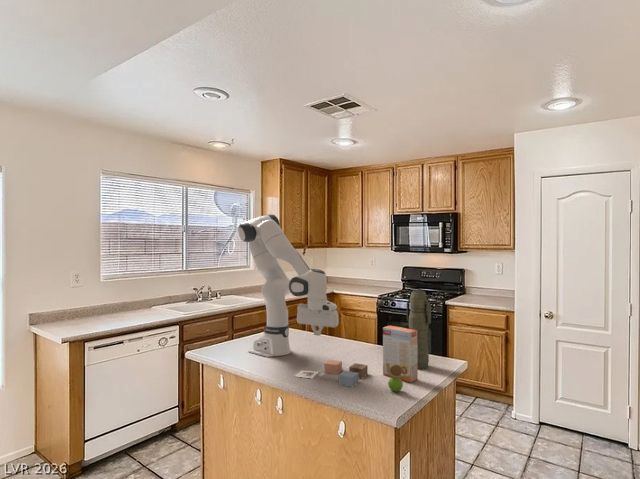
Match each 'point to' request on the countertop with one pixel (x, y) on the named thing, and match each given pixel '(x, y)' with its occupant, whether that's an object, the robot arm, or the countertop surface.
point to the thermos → (420, 324)
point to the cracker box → (400, 351)
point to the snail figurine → (394, 377)
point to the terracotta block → (333, 366)
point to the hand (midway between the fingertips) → (317, 335)
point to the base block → (359, 369)
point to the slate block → (348, 378)
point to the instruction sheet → (306, 374)
